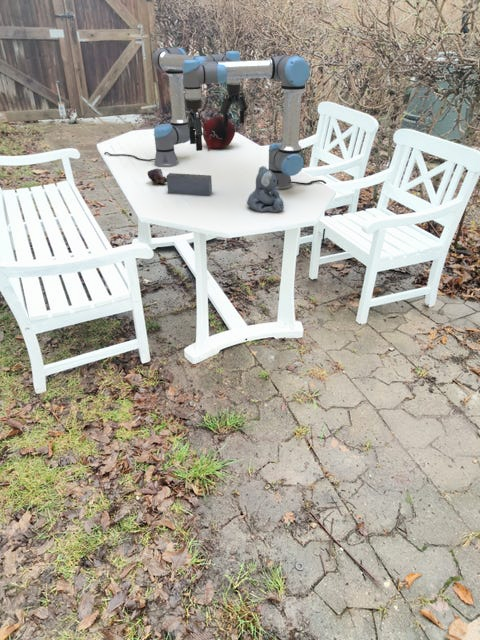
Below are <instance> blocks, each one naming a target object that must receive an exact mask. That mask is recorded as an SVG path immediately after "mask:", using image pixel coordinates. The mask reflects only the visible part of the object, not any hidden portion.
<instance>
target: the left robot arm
mask: <svg viewBox="0 0 480 640" xmlns="http://www.w3.org/2000/svg"><path fill="white" fill-rule="evenodd" d="M185 60H199V62H200V63H201V62H203V61H207V62H218V61H242V60H241V52H240V51H238V50H228V51H226V53H225V54H219V53H216V54H215V53H214V54H211V55H189V54H187V52H186V51H185V50H184V49H183V48H182V47H180V46H179V47H176V46H175V47H162V48H158V49H156V50H155V51H154V52H153V54H152V59H151V61H152V64H153V67H154V68H155V69H157V70H158V71H161V72H165V74H166V75H167V76H168V83H169V95H170V107H171V120H170V121H169V123H161V124H158V125H156V126H155V127H154V129H153V136H154V145H155V155H154V158H149V159H146V158H141V157H137V156H136V155H132V154H125V153H124V154H123V153H118V154H117V153H116V154H115V153H113V154H112V153H110V152H108V151H105V152H104V153H103V154H104V155H106V154H107V155H109V156H114V157H115V156H117V157H118V156H125V157H133V158H135V159H137V160H139V161H145V162H150V161H154V165H155V166H157V167H163V168H164V167H165V168H167V167H168V168H169V167H174V166H177V165H178V164H179V159H178V157H177V153H176V151H175V145H180V144H185V143H187V142H190V132H189V127H188V118H187V117H186V116H187V115H186V106H185V94H184V93H183V92H184V91H185V88H184V77H183V62H184V61H185ZM226 91H227V94H223V99H222V103H221V108H220V111H219V114H221V115H222V117H223V121H224V127H228V120H229V114H228V113H229V110H230V108H231V106H232V105H233V104H234V103H236V104H237V107H238V108H239V109H240V110H239V123H240V124H245V116H246V112H247V110H248V105H247V101H246V99H245V94H244V92H243V91H241V78H239V79H226Z"/></svg>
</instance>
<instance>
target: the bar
mask: <svg viewBox="0 0 480 640" xmlns="http://www.w3.org/2000/svg"><path fill="white" fill-rule="evenodd" d="M165 177H166V178H167V182H166V184H167V193H168V194H174V195H186V196H187V195H189V196H203V197H210V196H211V195H212V194H213V185H212V184H213V183H212V181H213V180H212V175H208V174H193V173H191V174H190V173H178V172H177V173H176V172H174V173H173V172H169V173H168V174H167V175H166V176H165Z"/></svg>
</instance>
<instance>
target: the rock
mask: <svg viewBox="0 0 480 640" xmlns="http://www.w3.org/2000/svg"><path fill="white" fill-rule="evenodd" d="M147 176H148V179H149V180H150V181H151V183H153V184H156V185H157V184H167V177H166V176H164V175H163V171H162V169H161V168H153V169H151V170H148V171H147Z"/></svg>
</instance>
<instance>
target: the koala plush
mask: <svg viewBox="0 0 480 640" xmlns="http://www.w3.org/2000/svg"><path fill="white" fill-rule="evenodd" d="M278 184H279V181H278V180H277V179H276V177H275V176H274V174H273V173H272V171H271V170H269V168H267V166H265V165H262V166H260V167H259V168H258V172H257V175H256V178H255V190H254V191H252V192H251V193H250V195H248V198H247V201H246V205H247V207H248V208H250V209H252V210H254V211H256V212H262V213H263V212H270V213H278V212H279V213H280V212H282V211H284V209H285V205H284V201H283V198H282V197H281V196H280V192H279V190H277V189H276V190H275V187H276V186H277V185H278Z"/></svg>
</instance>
